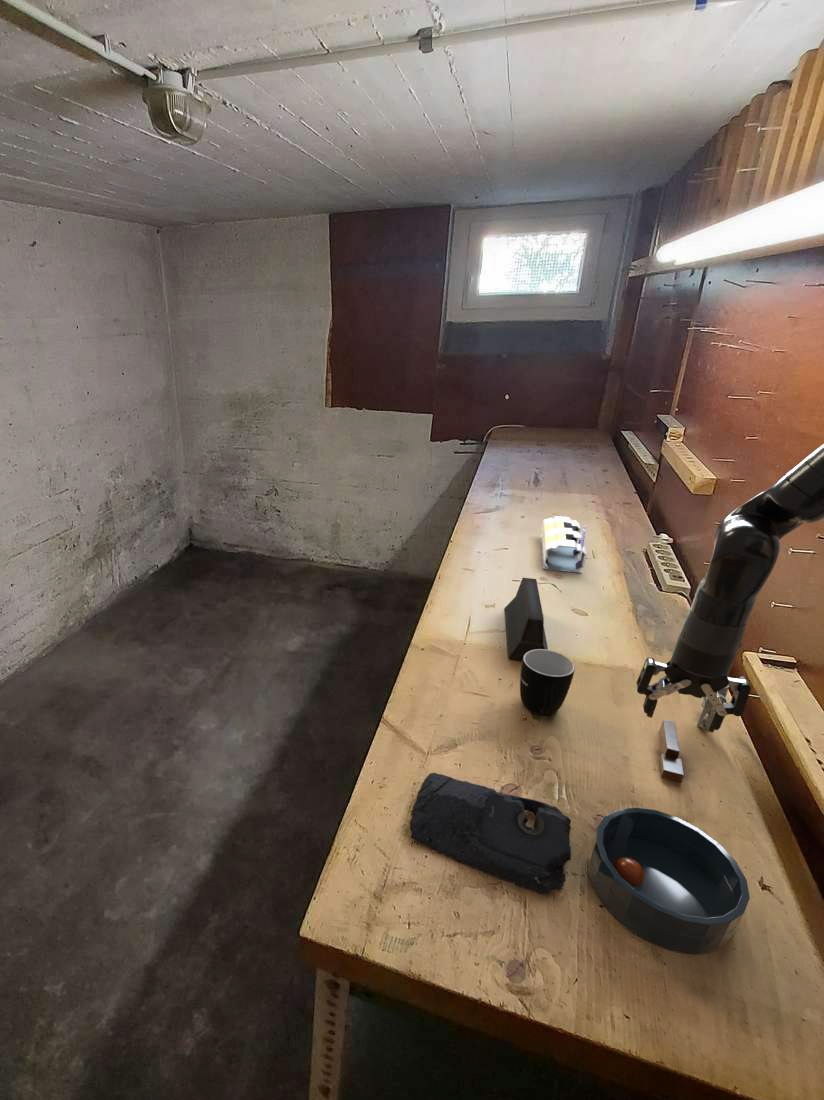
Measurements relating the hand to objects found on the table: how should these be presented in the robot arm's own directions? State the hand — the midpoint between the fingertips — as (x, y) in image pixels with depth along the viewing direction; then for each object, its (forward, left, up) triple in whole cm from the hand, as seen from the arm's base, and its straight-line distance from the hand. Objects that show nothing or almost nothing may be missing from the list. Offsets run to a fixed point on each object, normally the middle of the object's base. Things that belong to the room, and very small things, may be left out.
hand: (678, 721), depth 94 cm
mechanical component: (-9, -9, -8) cm, 15 cm away
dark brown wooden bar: (0, 0, -7) cm, 7 cm away
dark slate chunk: (+32, +21, -8) cm, 39 cm away
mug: (+19, -9, -8) cm, 22 cm away
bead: (+15, +27, -5) cm, 31 cm away
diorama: (-1, -86, -8) cm, 86 cm away
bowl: (+11, +27, -7) cm, 30 cm away
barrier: (+17, -37, -8) cm, 41 cm away
